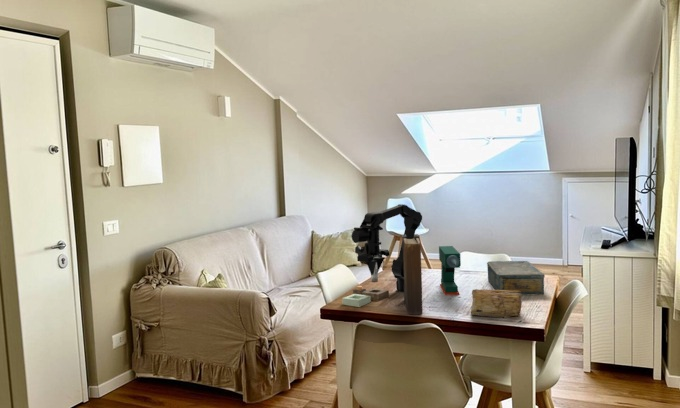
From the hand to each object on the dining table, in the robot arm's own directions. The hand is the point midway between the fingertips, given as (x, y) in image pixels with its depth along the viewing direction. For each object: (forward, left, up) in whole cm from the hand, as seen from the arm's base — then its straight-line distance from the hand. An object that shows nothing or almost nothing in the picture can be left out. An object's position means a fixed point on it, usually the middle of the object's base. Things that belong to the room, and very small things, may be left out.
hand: (374, 273), depth 252 cm
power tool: (-28, -23, -12) cm, 38 cm away
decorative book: (-24, +6, -12) cm, 27 cm away
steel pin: (0, 0, -4) cm, 4 cm away
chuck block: (0, 0, -11) cm, 11 cm away
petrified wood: (-58, -1, -12) cm, 59 cm away
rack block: (+1, +13, -11) cm, 17 cm away
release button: (+9, 0, -10) cm, 14 cm away
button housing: (+9, 0, -11) cm, 14 cm away
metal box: (-48, -49, -12) cm, 69 cm away
